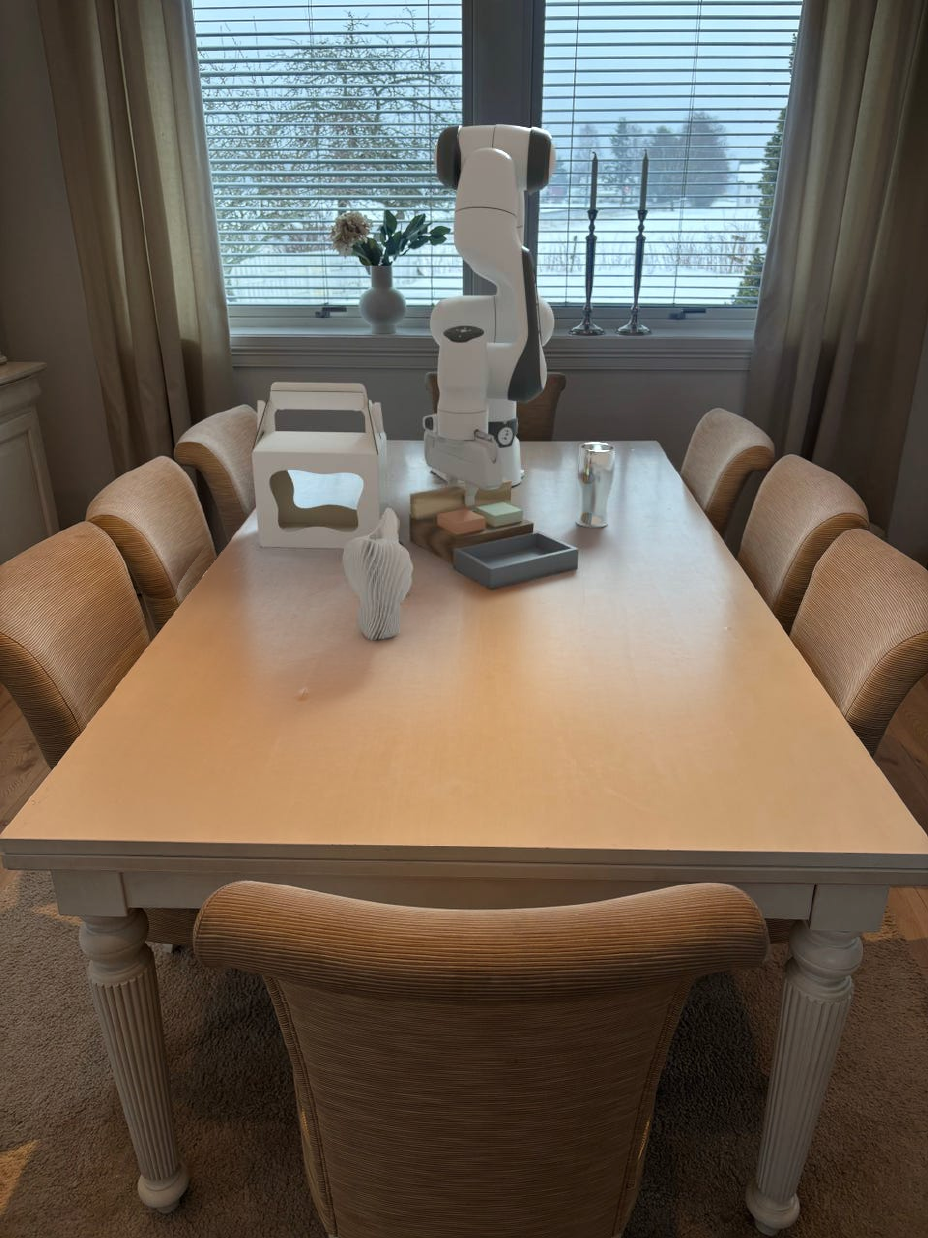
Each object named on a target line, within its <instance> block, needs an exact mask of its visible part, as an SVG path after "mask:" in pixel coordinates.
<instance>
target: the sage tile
mask: <svg viewBox="0 0 928 1238" xmlns="http://www.w3.org/2000/svg"><path fill="white" fill-rule="evenodd" d="M523 512H524V510H523V509H521V508H518V507H516V506H514V505H511V504H509V503H505V502H499V503H494V504H488V505H483V506H478V507H476V512H475V513H476V514H479V515H481V516H483V517H485V522H486V523H488V524H490V525H492V526H494V527H496V526H501V525H506V524H511V523H516V522H521V521H522V518H524V517H523Z"/></svg>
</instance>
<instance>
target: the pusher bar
mask: <svg viewBox="0 0 928 1238" xmlns="http://www.w3.org/2000/svg"><path fill="white" fill-rule="evenodd" d="M511 483H512V481H510V480H508V479H505V478H503V481H502V484H501V486H500V487H499V488H496V489H491V490H483V489H481V488H478V490H477V492H476V494H475V503H474V505H471V506H467V505H464V504H463V503H462V495H464V494H465V492H466V489H467V488H466V487H465V485H459V486H454V487H449V486H448V487H442V488H437V489H432V490H431V489H430V490H424V491H420V492H415V493H410V494H409V501H410V503H409V505H410V507H409V512H410V513H409V514H410V516H411V517H413V518H415V519H417V520H419V519H424V518H430V517H435V516H437V514H441V513H446V512H452V511H457V510H462V509H468V510H472V509H476V507H478V506H483V505H488V504H494V503H499V502H505V503H507V504H509V503H512V486H511Z"/></svg>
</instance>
